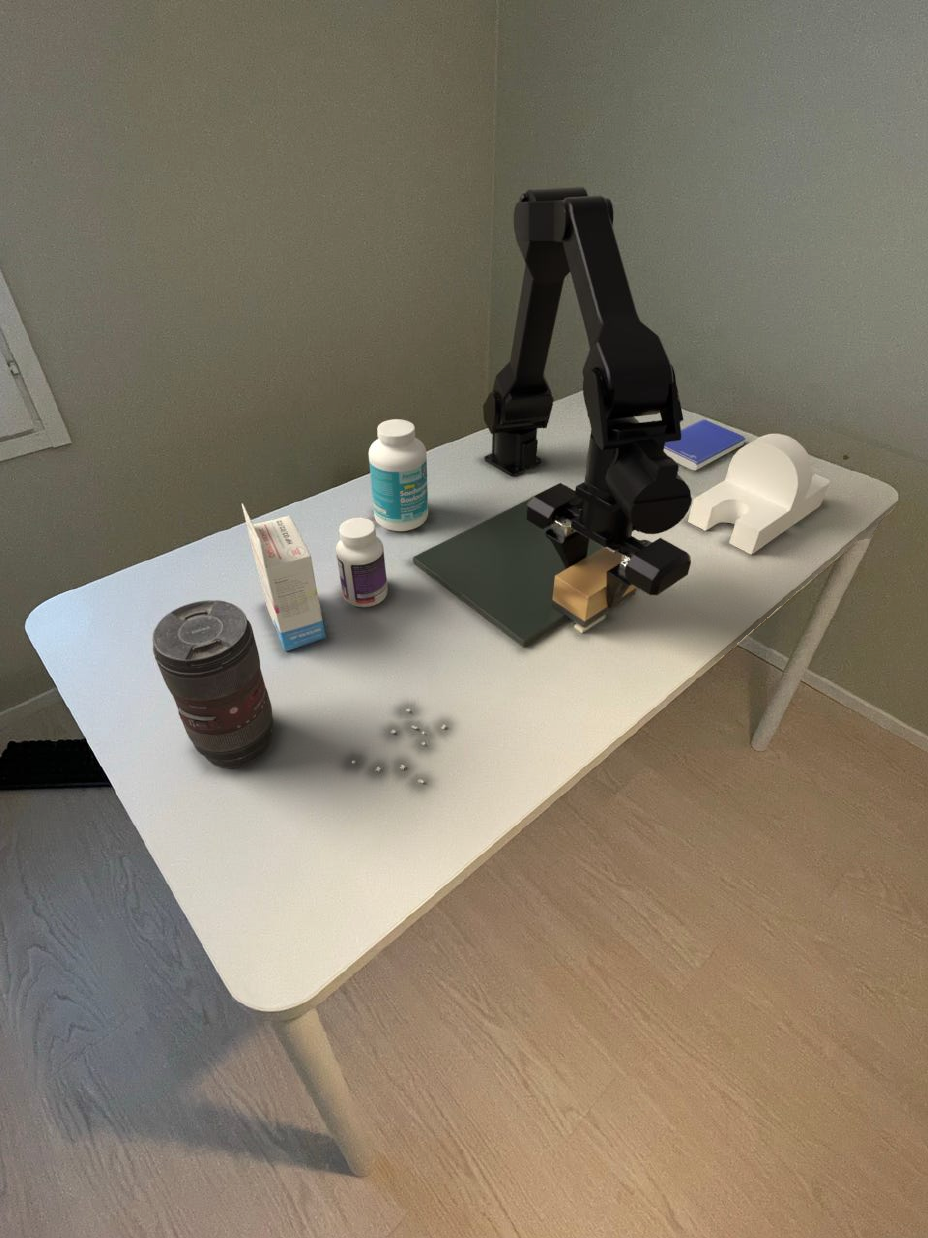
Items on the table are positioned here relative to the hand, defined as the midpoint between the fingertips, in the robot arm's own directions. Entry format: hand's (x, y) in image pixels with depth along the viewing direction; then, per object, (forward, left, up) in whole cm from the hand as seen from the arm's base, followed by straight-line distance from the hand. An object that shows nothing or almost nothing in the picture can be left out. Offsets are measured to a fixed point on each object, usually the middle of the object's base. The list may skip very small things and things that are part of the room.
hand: (594, 594), depth 82 cm
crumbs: (+1, -29, -2) cm, 29 cm away
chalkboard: (-11, 0, -2) cm, 11 cm away
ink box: (-21, -28, -2) cm, 35 cm away
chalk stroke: (+2, -2, -1) cm, 3 cm away
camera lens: (-10, -41, -2) cm, 42 cm away
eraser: (0, 0, -1) cm, 1 cm away
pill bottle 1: (-20, -19, -2) cm, 27 cm away
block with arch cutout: (+2, +32, -2) cm, 32 cm away
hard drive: (-15, +41, -2) cm, 44 cm away
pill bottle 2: (-30, -6, -2) cm, 30 cm away
